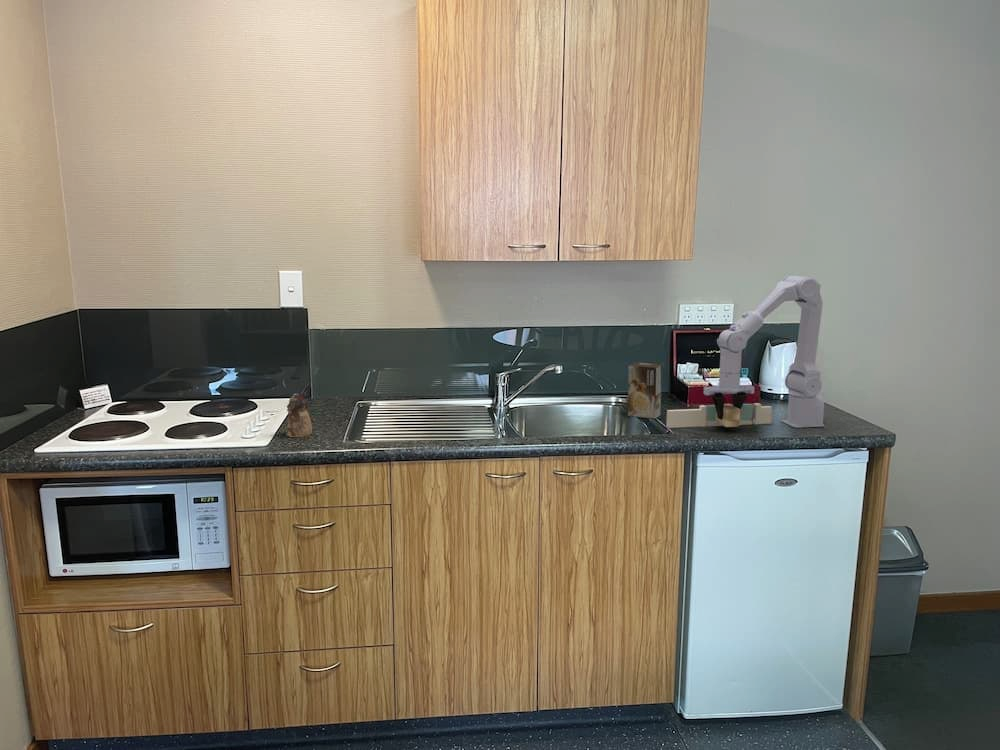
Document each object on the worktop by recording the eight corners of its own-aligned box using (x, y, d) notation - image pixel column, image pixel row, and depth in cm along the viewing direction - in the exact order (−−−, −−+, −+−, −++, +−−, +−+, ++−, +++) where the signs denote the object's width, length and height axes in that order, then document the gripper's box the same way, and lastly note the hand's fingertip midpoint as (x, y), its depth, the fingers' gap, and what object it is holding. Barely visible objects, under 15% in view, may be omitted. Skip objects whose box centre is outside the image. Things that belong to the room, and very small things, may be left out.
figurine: (285, 432, 224) (283, 391, 221) (310, 430, 226) (308, 389, 224) (287, 438, 217) (285, 396, 215) (313, 436, 220) (311, 394, 217)
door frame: (768, 422, 234) (769, 402, 232) (771, 423, 232) (772, 404, 231) (666, 426, 229) (666, 406, 228) (668, 428, 227) (669, 408, 226)
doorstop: (728, 420, 229) (729, 403, 228) (739, 426, 222) (740, 409, 221) (715, 420, 228) (716, 404, 227) (725, 427, 221) (726, 409, 220)
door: (753, 418, 232) (754, 403, 231) (754, 419, 231) (755, 404, 230) (705, 420, 230) (706, 405, 229) (707, 421, 229) (707, 406, 228)
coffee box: (661, 414, 243) (663, 364, 240) (655, 419, 238) (657, 367, 234) (633, 411, 247) (634, 361, 244) (626, 416, 242) (627, 365, 239)
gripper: (711, 375, 217) (709, 422, 220) (760, 373, 219) (757, 420, 222) (701, 370, 224) (699, 416, 227) (749, 369, 226) (746, 414, 229)
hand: (727, 418), depth 225 cm, fingers closed on doorstop, 4 cm apart
